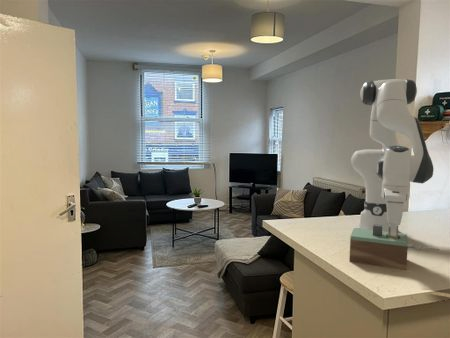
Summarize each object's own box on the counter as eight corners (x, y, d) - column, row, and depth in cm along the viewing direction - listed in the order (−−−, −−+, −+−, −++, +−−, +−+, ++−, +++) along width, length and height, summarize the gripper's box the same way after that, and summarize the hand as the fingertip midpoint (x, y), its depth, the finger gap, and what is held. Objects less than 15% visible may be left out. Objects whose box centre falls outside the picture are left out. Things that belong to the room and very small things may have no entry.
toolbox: (352, 253, 137) (353, 231, 136) (404, 261, 129) (406, 237, 129) (349, 264, 126) (350, 239, 125) (406, 272, 119) (407, 246, 118)
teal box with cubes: (353, 233, 136) (354, 219, 136) (406, 239, 129) (407, 224, 128) (350, 242, 125) (351, 226, 125) (407, 249, 118) (408, 232, 117)
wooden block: (386, 260, 128) (388, 224, 126) (396, 261, 126) (398, 225, 125) (386, 262, 125) (388, 226, 124) (396, 264, 124) (398, 227, 123)
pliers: (438, 253, 135) (394, 246, 144) (437, 257, 135) (394, 249, 144) (439, 246, 143) (398, 240, 152) (439, 250, 144) (398, 243, 152)
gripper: (385, 188, 134) (383, 224, 135) (384, 196, 116) (382, 238, 117) (404, 189, 131) (402, 226, 133) (406, 198, 113) (404, 240, 114)
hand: (393, 232), depth 125 cm, fingers open, 7 cm apart
